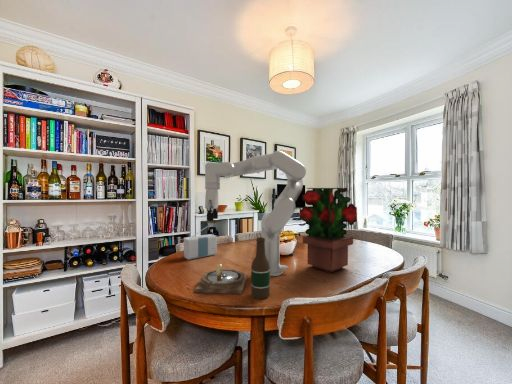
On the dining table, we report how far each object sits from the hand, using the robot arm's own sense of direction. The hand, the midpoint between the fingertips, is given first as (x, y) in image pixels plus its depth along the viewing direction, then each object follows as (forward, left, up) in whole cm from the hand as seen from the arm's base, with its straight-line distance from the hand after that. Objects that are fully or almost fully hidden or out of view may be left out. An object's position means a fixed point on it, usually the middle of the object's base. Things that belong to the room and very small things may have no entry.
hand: (212, 219), depth 125 cm
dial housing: (-8, +12, -28) cm, 32 cm away
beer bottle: (-26, +23, -28) cm, 45 cm away
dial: (-8, +12, -27) cm, 30 cm away
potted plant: (-62, -15, -28) cm, 70 cm away
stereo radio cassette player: (+16, -32, -29) cm, 46 cm away
